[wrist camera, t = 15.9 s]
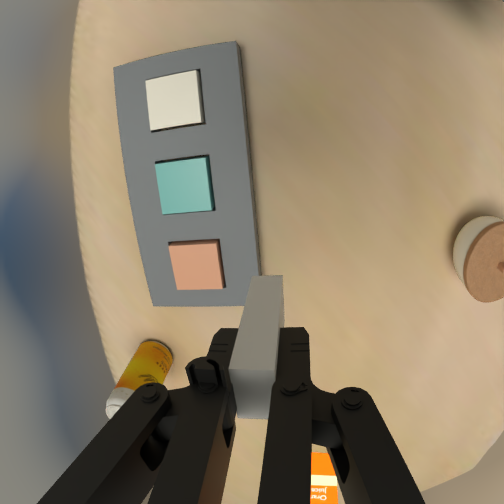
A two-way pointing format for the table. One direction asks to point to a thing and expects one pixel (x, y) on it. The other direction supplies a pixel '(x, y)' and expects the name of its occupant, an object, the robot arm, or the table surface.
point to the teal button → (185, 185)
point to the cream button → (175, 100)
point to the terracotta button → (197, 264)
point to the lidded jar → (481, 258)
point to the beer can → (140, 373)
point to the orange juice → (323, 480)
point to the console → (184, 145)
